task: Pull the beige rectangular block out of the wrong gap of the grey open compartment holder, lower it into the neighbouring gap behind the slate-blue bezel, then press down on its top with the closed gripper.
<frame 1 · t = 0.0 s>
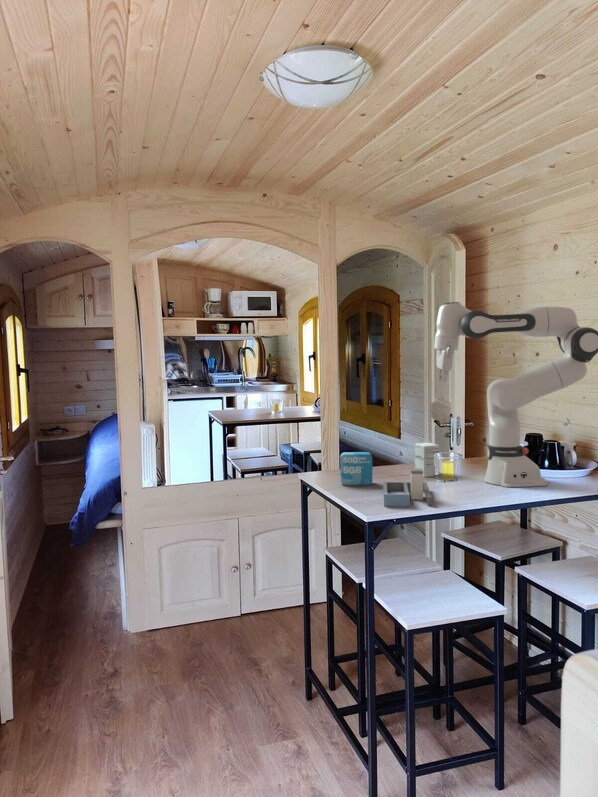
hand: (442, 381, 231), 39 cm above the table, tool pointing down, fingers open, 8 cm apart
data package: (356, 484, 233), on the table
supplement box: (426, 475, 246), on the table
beige rectangular block: (416, 498, 210), resting in grey open compartment holder
grey open compartment holder: (406, 497, 211), on the table
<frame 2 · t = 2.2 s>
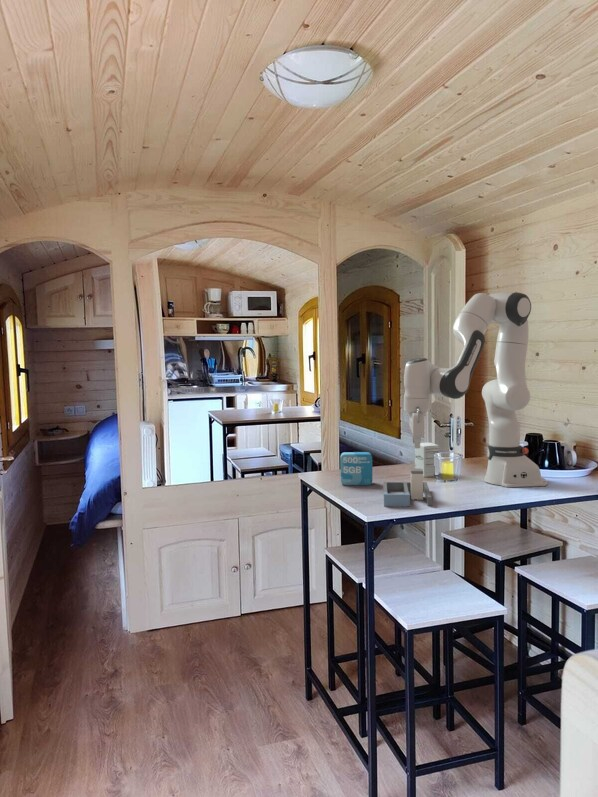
hand: (416, 445, 208), 18 cm above the table, tool pointing down, fingers open, 8 cm apart
nothing on the table moved.
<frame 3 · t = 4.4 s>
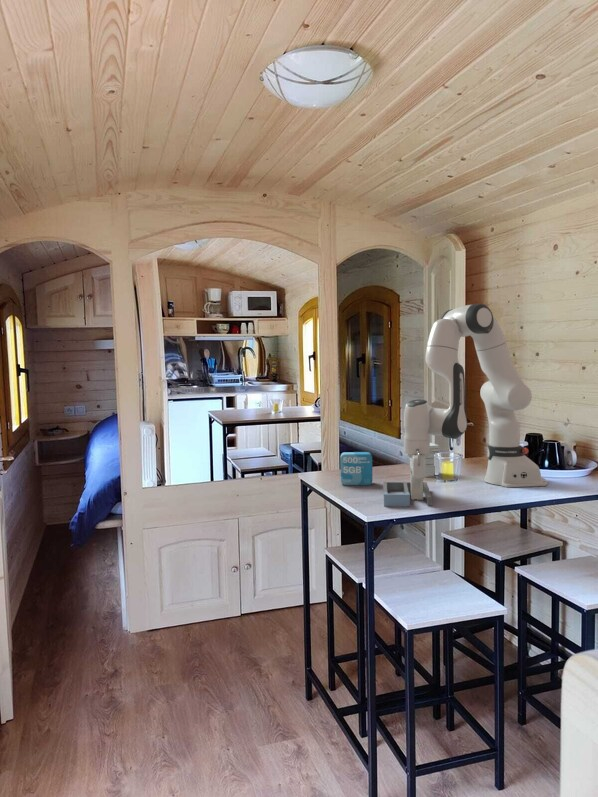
hand: (416, 486, 210), 4 cm above the table, tool pointing down, fingers closed on beige rectangular block, 4 cm apart
beige rectangular block: (416, 498, 210), resting in grey open compartment holder, touching gripper
everything else where it was.
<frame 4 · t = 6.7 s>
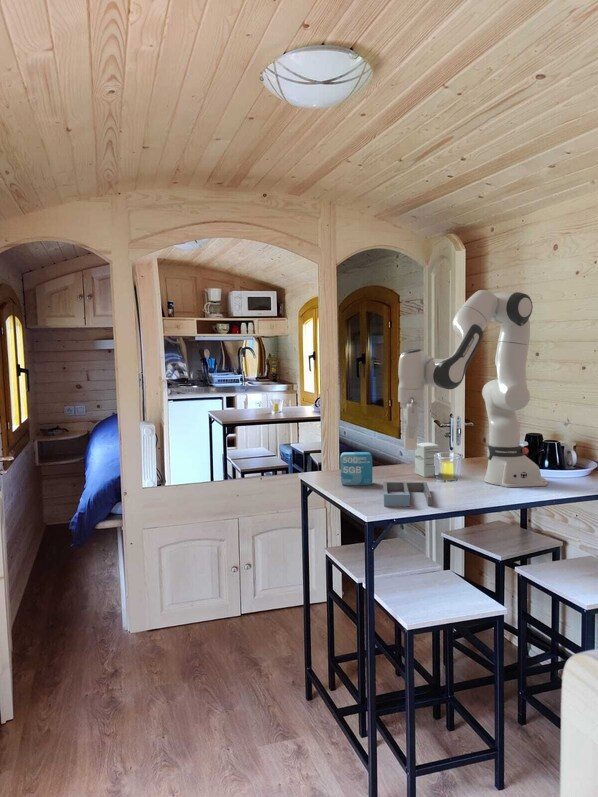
hand: (410, 436, 208), 22 cm above the table, tool pointing down, fingers closed on beige rectangular block, 4 cm apart
beige rectangular block: (410, 448, 209), point 17 cm above the table, touching gripper
everything else where it was.
when the fingers open (6 cm above the table, at t = 9.3 s): beige rectangular block drops 2 cm, resting in grey open compartment holder.
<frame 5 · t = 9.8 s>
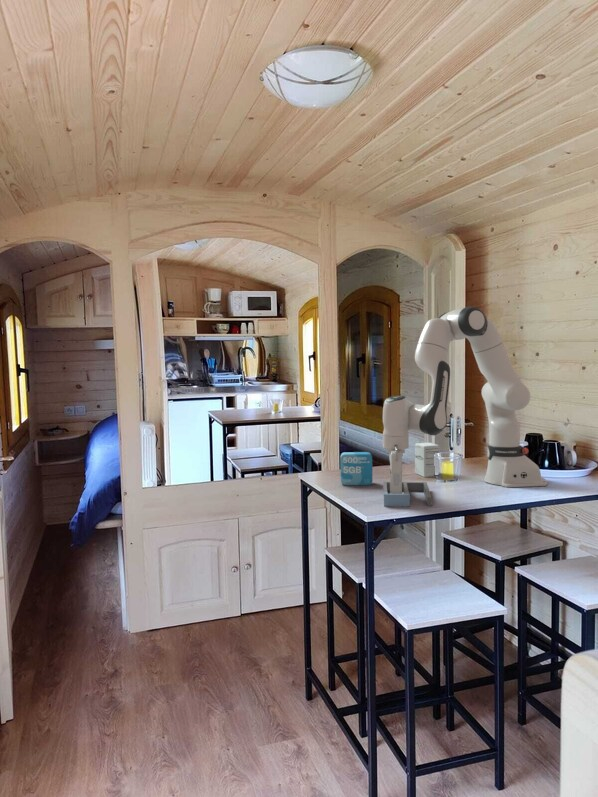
hand: (395, 482, 211), 6 cm above the table, tool pointing down, fingers open, 8 cm apart
beige rectangular block: (395, 497, 211), resting in grey open compartment holder
everything else where it was.
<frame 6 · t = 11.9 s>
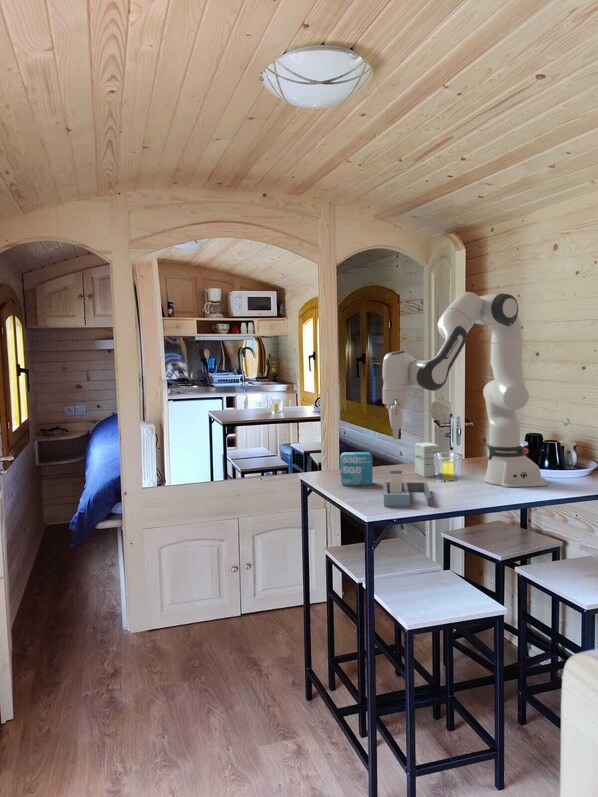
hand: (395, 438, 209), 21 cm above the table, tool pointing down, fingers open, 3 cm apart
nothing on the table moved.
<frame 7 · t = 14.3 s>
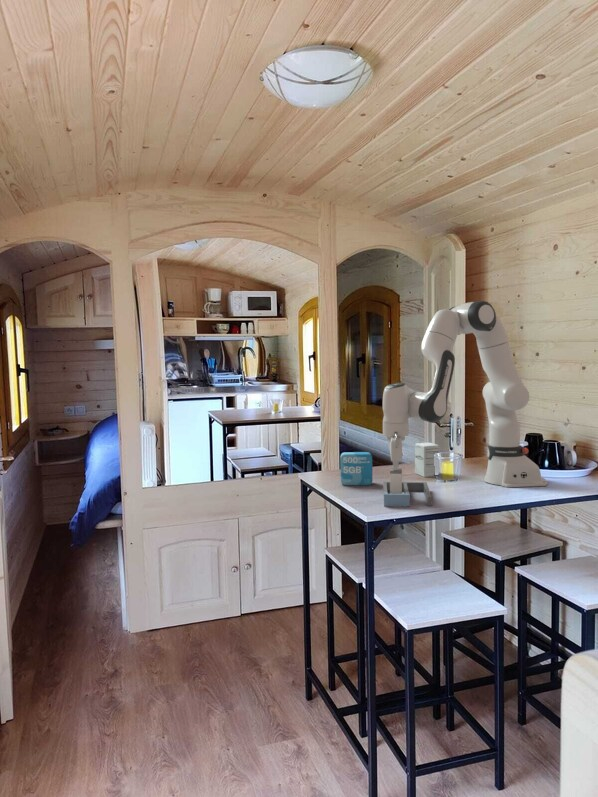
hand: (395, 469, 210), 10 cm above the table, tool pointing down, fingers closed, pressing on beige rectangular block
beige rectangular block: (395, 497, 211), resting in grey open compartment holder, touching gripper
everything else where it was.
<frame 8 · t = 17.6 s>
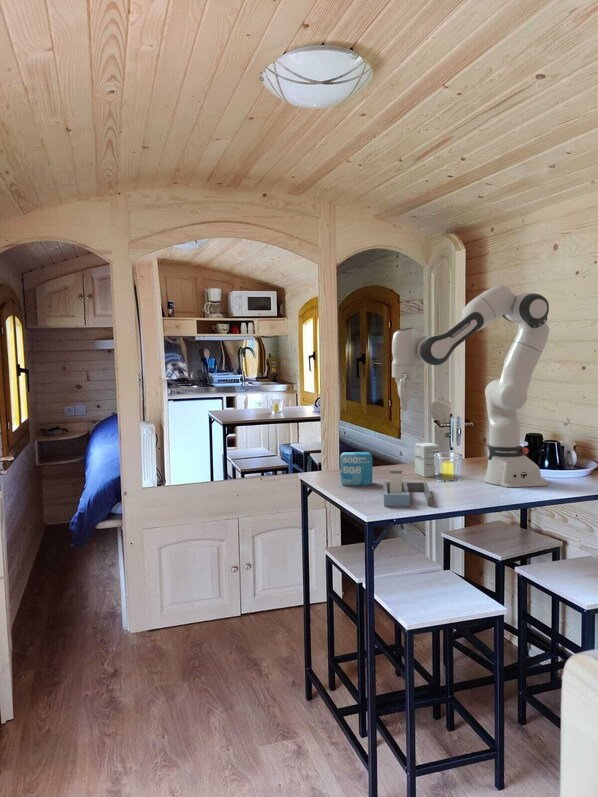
hand: (404, 410, 222), 29 cm above the table, tool pointing down, fingers closed
beige rectangular block: (395, 497, 211), resting in grey open compartment holder
everything else where it was.
at the end: beige rectangular block 0.0 cm from the target spot on the grey open compartment holder, point 0.0 cm above the grey open compartment holder's base; beige rectangular block tilted 0°; the gripper is holding nothing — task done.
